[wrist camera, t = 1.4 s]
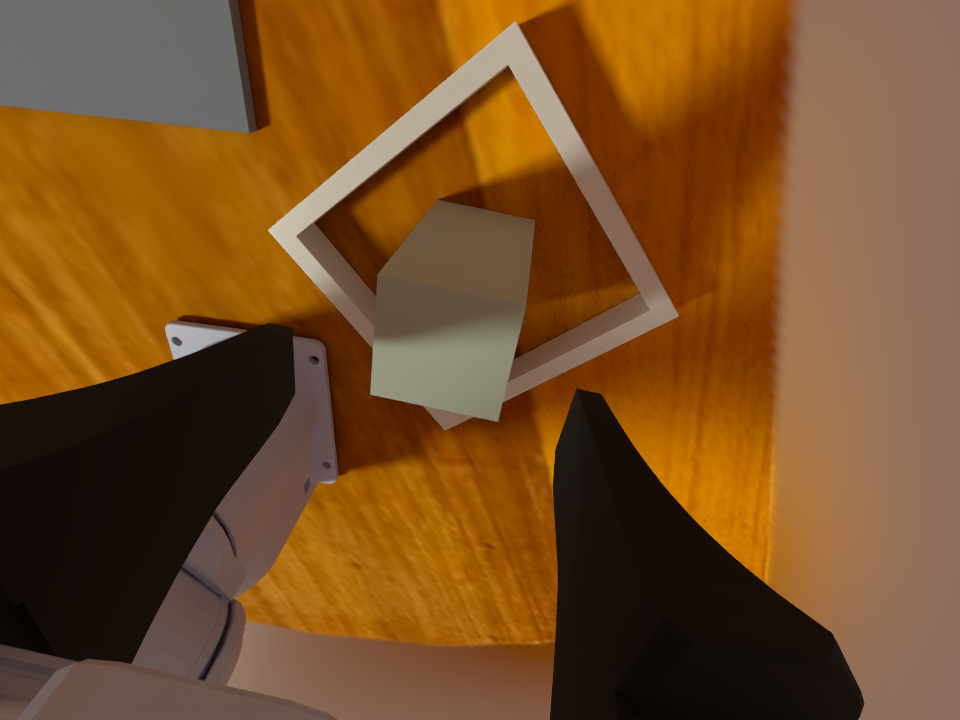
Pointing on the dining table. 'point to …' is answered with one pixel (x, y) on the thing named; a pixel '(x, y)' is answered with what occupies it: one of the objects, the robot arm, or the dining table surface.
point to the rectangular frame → (516, 52)
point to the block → (452, 310)
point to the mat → (128, 60)
